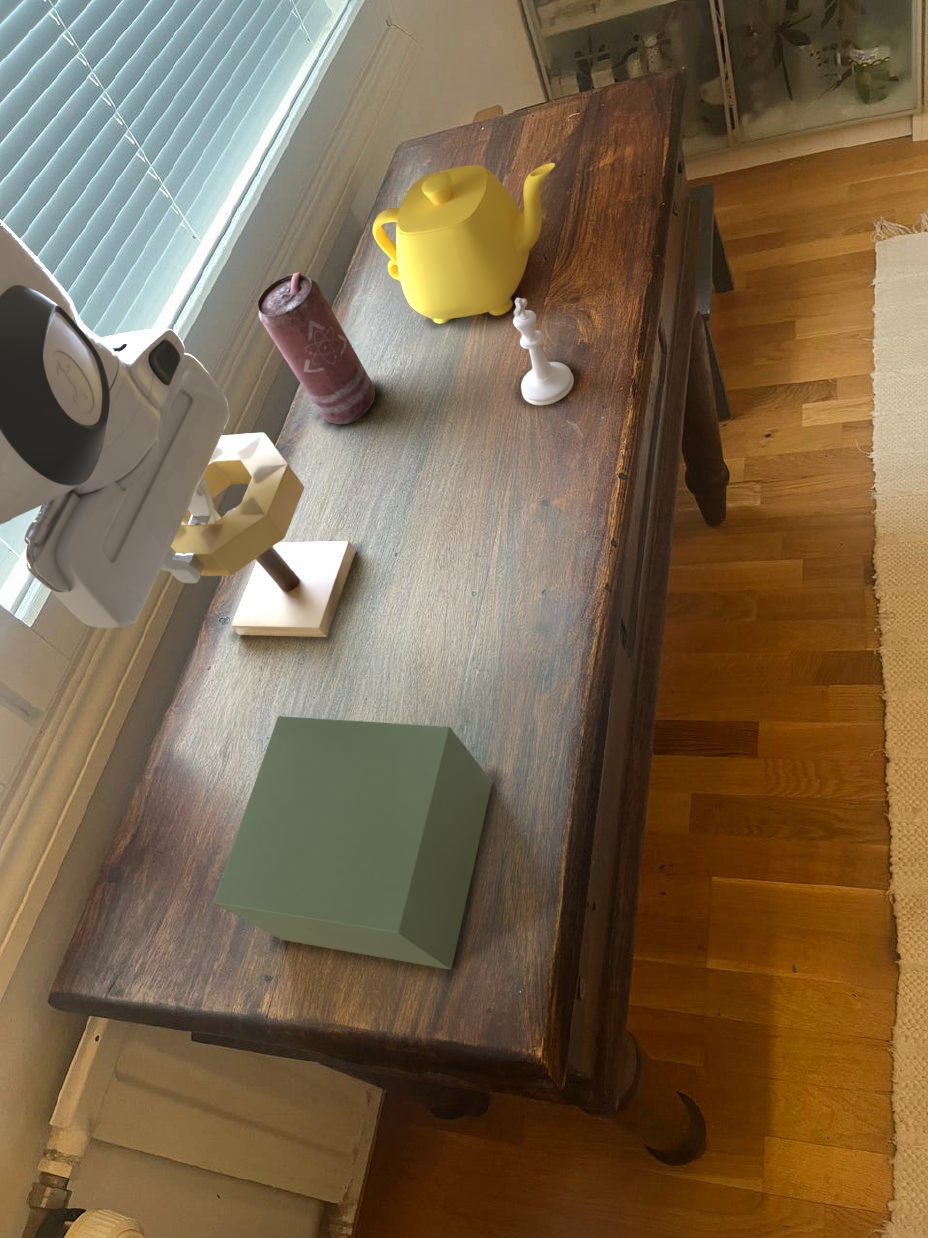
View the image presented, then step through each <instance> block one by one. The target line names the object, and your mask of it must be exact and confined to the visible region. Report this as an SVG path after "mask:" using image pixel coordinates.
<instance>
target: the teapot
mask: <svg viewBox="0 0 928 1238" xmlns="http://www.w3.org/2000/svg"><path fill="white" fill-rule="evenodd" d="M555 166H556V163H555V162H550V163H546V164H543V165H541V166H539V167H537V168H535V169H534V170H532V171H531V172H530V173H529V174H528V175H527V177H526V178H525V180H524V183H523V191H522V192H523V193H522V195H523V210H522V211H521V208H520V206H519V205H518V203H517V201H516V200H515V198H514V197H513V196H512V194H511V193H510V191H509V190H508V189H507V188H506V187H505V185H504V184H503V183H502V182H501V181H500V180H499V179H498V178H497V176H495V175H494V174H493V172H491V171H490V170H489V169H488V168H487V167H486V166H484V165H482V164H481V165H480V164H470V165H469V164H468V165H462V166H457V167H453V168H447V169H444V170H440V171H435V172H431V173H429V174H427V175H424V176H422V177H420V178H418V180H416V181H415V182H414V183H413V184H412V185H411V187H410V188H409V189H408V191H407V192H406V194H405V195H404V197H403V200H402V201H401V204H400V207H389V208H386V209H384V210H382V211H381V212H380V213H379V214H378V215H377V216H376V218H375V219H374V220H373V224H372V235H373V238H374V240H375V241H376V243H377V245H378V246H379V247H380V248H381V250H382V251H383V252H384V253H385V254H386V255H387V256H388V257H389V258H390V260H389V261H388V262H387V270H388V274H389V276H390V277H391V278H392V279H394V280H397V281H400V285H401V288H402V291H403V294H404V297H405V298H406V299H405V300H406V301H407V302H408V304H409V306H410V307H411V309H413V310H414V311H415V312H418V314H421V315H422V316H425V317H427V318H428V319H431V320H432V321H433V322H434V323H436V324H445V323H447V322H449V321H451V320H453V319H457V318H465V317H471V316H477V315H482V314H485V313H489V314H490V315H492V316H501V315H504V314H506V313H507V312H509V311H510V310H511V309H512V307H513V304H514V303H513V300H512V299H511V298H512V296H513V295H514V294H515V292H516V290H517V289H518V287H519V285H520V283H521V282H522V280H523V279H522V278H523V276H524V274H525V271H526V269H527V268H526V267H527V264H528V260H529V255H530V251H531V249H532V248H533V247H534V246H535V245H536V242H537V241H538V239H539V238H540V234H541V231H542V224H543V211H542V209H543V208H542V203H541V201H542V200H541V188H542V184H543V182H544V179H545V178H546V177H547V176H548V174H549V173H550V172H552V170H553V169H554V168H555ZM387 223H396V229H395V231H396V233H395V236H396V237H395V238H396V241H395V242H396V243H395V242H394V240H392V239H391V237H389V235H388V233H387V232H386V230H385V229H384V227H383V225H384V224H387Z"/></svg>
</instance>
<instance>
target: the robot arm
mask: <svg viewBox="0 0 928 1238" xmlns="http://www.w3.org/2000/svg"><path fill="white" fill-rule="evenodd" d="M229 409H230V408H229V402H228V399H227V397H226V395H225V393H224V392H223V390H222V389H221V388H220V386H219V385H218V384H217V382H216V380H215V379H214V378H213V377H212V375H211V374H210V372H208V370H207V369H206V368H205V367H204V366H203V364H202V363H201V362H200V361H199V360H198V359H197V358H196V357H194V356H193V355H192V354H189V353H186V347H185V345H184V343H183V341H182V339H181V338H180V336H179V335H178V333H177V332H176V331H175V330H173V329H171V328H156V329H155V328H154V329H144V330H138V331H137V330H136V331H129V332H123V333H118V334H113V335H109V336H104V337H100V336H99V335H97V334H95V333H94V332H92V331H91V330H90V329H89V328H88V327H87V326H86V325H85V324H84V322H83V321H82V319H81V318H80V315H79V314H78V312H77V310H76V307H75V305H74V302H73V300H72V299H71V297H70V295H69V294H68V293H67V292H66V290H65V289H64V288H63V287H62V285H61V284H60V283H59V282H58V281H57V279H56V278H55V277H54V276H53V274H52V273H51V272H50V271H49V270H48V268H47V267H45V265H44V264H43V263H42V261H40V259H39V258H38V257H37V256H36V255H35V254H34V253H33V252H32V251H31V250H30V248H28V246H27V245H26V244H25V243H24V241H22V239H20V238H19V237H18V236H17V235H16V234H15V233H14V232H13V230H11V228H9V226H7V225H6V223H4V222H3V220H1V219H0V526H1V525H4V524H5V523H7V522H10V521H12V520H13V519H15V518H18V517H19V516H22V515H23V514H26V513H27V512H30V511H32V510H35V509H37V508H39V507H40V509H39V511H38V513H37V515H36V517H35V519H34V520H33V521H31V523H30V524H29V526H28V528H27V530H26V533H25V536H24V543H26V544H27V545H26V550H25V551H26V552H25V556H26V557H25V558H26V569H27V570H28V572H29V573H30V574H31V576H33V577H34V578H35V579H36V580H37V581H38V582H39V583H41V585H43V586H45V587H46V588H47V589H49V590H50V591H51V592H52V593H53V594H54V595H55V596H56V598H57V599H58V600H59V601H60V602H61V603H62V604H63V605H64V606H65V607H66V608H67V610H69V612H70V613H72V614H73V615H74V616H75V617H76V618H77V619H78V620H79V621H80V622H82V623H83V624H85V625H86V626H88V627H93V628H98V629H99V628H100V629H119V628H124V627H129V626H132V625H134V624H136V622H137V621H138V620H139V617H140V615H141V613H142V610H143V609H144V606H145V604H146V602H147V599H148V597H149V595H150V593H151V591H152V589H153V586H154V584H155V582H156V580H157V578H158V575H159V573H160V571H163V572H169V573H170V574H171V575H172V576H173V577H174V578H175V579H176V580H177V581H179V582H181V583H183V584H197V583H198V582H199V580H200V578H201V577H202V576H201V573H202V571H203V568H204V564H203V563H202V562H200V561H199V559H198V558H197V557H196V556H195V555H194V554H185V555H183V554H176V551H175V550H174V549H173V548H172V547H171V545H172V543H173V540H174V538H175V536H176V534H177V532H178V530H179V527H180V525H181V523H182V521H183V519H184V516H185V514H186V512H187V510H188V508H189V511H190V514H191V519H190V521H189V523H188V525H197V524H200V525H204V524H213V523H215V522H216V521H218V520H219V519H220V518H222V516H221V515H220V514H219V513H218V511H217V510H215V505H214V502H213V501H214V500H213V498H212V496H211V492H210V488H209V484H208V482H207V481H206V480H205V478H204V477H203V475H204V473H205V470H206V468H207V466H208V464H209V462H210V459H211V457H212V455H213V453H214V451H215V448H216V446H217V444H218V442H219V440H220V438H221V436H223V433H224V431H225V428H226V427H227V424H228V423H229V420H230V410H229Z"/></svg>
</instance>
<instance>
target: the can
mask: <svg viewBox="0 0 928 1238" xmlns="http://www.w3.org/2000/svg"><path fill="white" fill-rule="evenodd" d="M257 310H258V319H259V321H260V322H261V323H262V325H263V326H264V328H265V330H266V332H267V333H268V334H269V336H270V338H271V339H272V341H273V342H274V344H275V346H276V347H277V349H278V350H279V352H280V353H281V355H282V357H283V359H285V361H286V363H287V364H288V366H289V367H290V369H291V370H292V372H293V374H294V375H295V377H296V379H297V380H298V382H299V383H300V385H301V386H302V388H303V389H304V391H305V392H306V394H307V395H308V397H309V399H310V401H311V402H312V403H313V405H314V406H315V408H316V410H317V411H318V413H319V415H320V416H321V417H322V420H325V421H326V422H328V423H331V424H334V425H347V424H350V423H353V422H355V421H357V420H359V419H361V418H362V417H363V416H365V414H366V413H367V412H369V410H370V409H371V407H372V406H373V404H374V401H375V395H376V389H375V385H374V383H373V382H372V380H371V378H370V376H369V374H368V373H367V371H366V369H365V367H364V365H363V364H362V361H361V360H360V358H359V356H358V355H357V353H356V351H355V349H354V347H353V345H352V344H351V342H350V340H349V338H348V337H347V335H346V333H345V332H344V329H343V328H342V326H341V324H340V322H339V320H338V319H337V317H336V315H335V313H334V312H333V309H332V308H331V305H330V304H329V302H328V301H327V299H326V297H325V295H324V293H323V291H322V289H321V288H320V286H319V285H318V283H317V282H316V281H314V280H312V279H311V278H310V277H309V276H308V275H305V274H303V273H302V272H300V271H299V272H294V273H293V274H288V275H286V276H283V277H281V278H278V279H277V280H275V281H274V282H272V283H270V285H268V286H267V287H266V288H265V289H264V290H263V292H261V294H260V295H259V298H258V300H257Z"/></svg>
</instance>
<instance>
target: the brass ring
mask: <svg viewBox="0 0 928 1238" xmlns="http://www.w3.org/2000/svg"><path fill="white" fill-rule="evenodd" d="M203 477H204V478H205V480H206V481H207V482H208V484H209V488H210V492H211V496H212V499H213V498H215V497H216V496H218V495H219V494H220V493H222V492H223V491H224V490H226V489H228V487H230V486H231V485H247V484H248V486H247V489H246V491H245V494H244V495H243V498H242V501H241V503H240V504H238V505H237V506H236V507H234V508H235V509H234V508H232V509H233V510H232V509H231V510H232V511H230V510H229V511H230V512H229V511H228V512H229V513H228V512H226V513H225V515H223V516H221V518H220V519H219V520H218V521H216V522H215V523H213V524H204V525H200V524H197V525H188V523H189V521H190V519H191V514H190V511H189V508H188V510H187V512H186V514H185V516H184V519H183V521H182V523H181V525H180V527H179V530H178V532H177V534H176V536H175V538H174V540H173V543H172V545H171V547H172V548H173V549H174V550H175V551H176V554H183V555H185V554H194V555H195V556H196V557H197V558H198V559H199V561H200V562H202V563H203V564H204V568H203V571H202V573H201V576H200V577H202V576H203V577H207V576H208V577H210V576H211V577H213V576H214V577H223V576H225V577H230V576H233V575H234V574H236V573H237V572H239V571H240V570H242V569H244V567H246V566H247V565H250V563H251V562H253V561H254V560H256V558H257V557H259V556H260V555H261V554H263V553H264V552H266V551H267V550H268V549H270V548H271V547H273V546H274V545H275V544H277V543H281V541H283V540H284V539H285V538H286V536H287V533H288V531H289V529H290V526H291V524H292V521H293V518H294V517H295V516H294V515H295V513H296V510H297V508H298V505H299V502H300V500H301V498H302V495H303V493H304V490H305V485H304V484H303V483H302V481H301V480H300V479H299V477H298V476H297V474H296V473H295V472H294V470H293V469H292V467H291V466H290V464H289V463H288V462H287V461H286V459H285V457H284V456H283V455H282V453H281V452H280V451H279V450H278V448H277V446H276V445H275V444H274V443H273V442H272V439H270V437H269V436H268V435H267V434H266V432H254V433H253V432H252V433H240V434H227V435H226V434H225V435H221V438H220V440H219V442H218V444H217V446H216V448H215V451H214V453H213V455H212V457H211V459H210V462H209V464H208V466H207V468H206V470H205V473H204V475H203Z"/></svg>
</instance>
